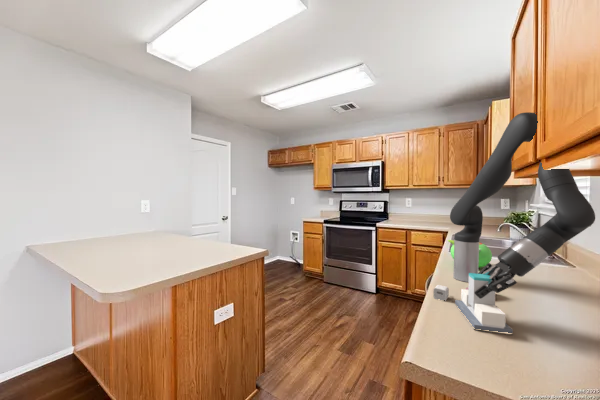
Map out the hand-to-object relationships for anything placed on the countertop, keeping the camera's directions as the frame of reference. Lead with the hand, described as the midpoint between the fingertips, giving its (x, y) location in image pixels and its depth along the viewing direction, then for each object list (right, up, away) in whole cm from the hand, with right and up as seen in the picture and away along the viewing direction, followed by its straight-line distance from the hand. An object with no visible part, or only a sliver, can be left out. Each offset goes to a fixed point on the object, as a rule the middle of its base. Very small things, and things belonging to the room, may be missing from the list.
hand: (474, 292), depth 78 cm
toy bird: (+35, -6, +53) cm, 64 cm away
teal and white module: (+2, -4, 0) cm, 5 cm away
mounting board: (+2, -8, 0) cm, 8 cm away
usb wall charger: (-1, -8, +15) cm, 17 cm away
